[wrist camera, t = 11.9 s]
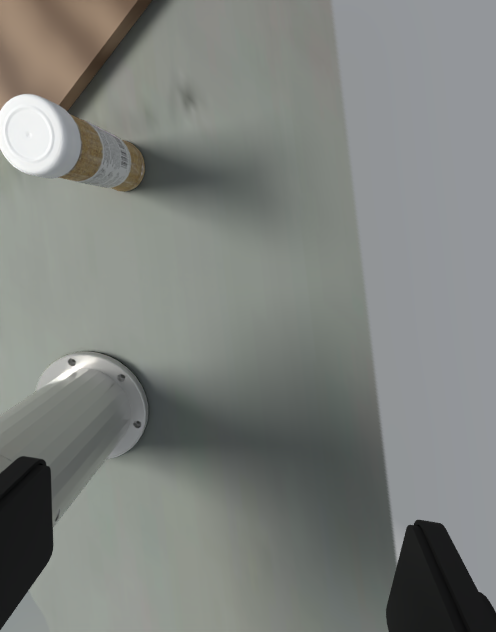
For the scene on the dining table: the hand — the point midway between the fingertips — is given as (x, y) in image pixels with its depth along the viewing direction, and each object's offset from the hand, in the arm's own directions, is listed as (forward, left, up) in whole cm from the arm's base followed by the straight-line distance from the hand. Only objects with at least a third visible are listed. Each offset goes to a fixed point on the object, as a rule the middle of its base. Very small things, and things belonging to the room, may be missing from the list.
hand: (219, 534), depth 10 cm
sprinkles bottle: (-1, +19, -28) cm, 34 cm away
